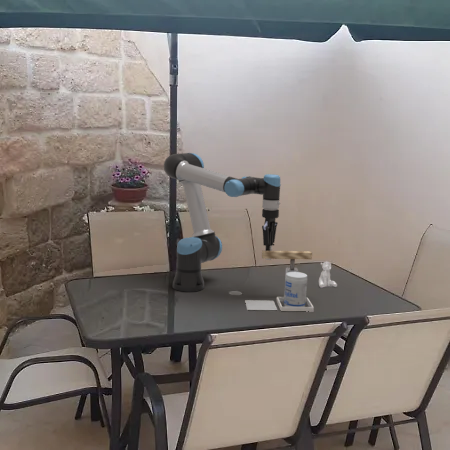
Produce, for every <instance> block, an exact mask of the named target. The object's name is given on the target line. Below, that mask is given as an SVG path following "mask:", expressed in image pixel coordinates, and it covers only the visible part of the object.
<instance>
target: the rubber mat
mask: <svg viewBox="0 0 450 450" xmlns="http://www.w3.org/2000/svg"><path fill="white" fill-rule="evenodd" d="M245 303H246V304H245ZM244 304H245V306H246V311H248V310H277V311H278V308H277V306H276V303H275V300H264V299H263V300H262V299H260V300H259V299H258V300H255V299H254V300H252V299H249V300H248V299H245V300H244Z"/></svg>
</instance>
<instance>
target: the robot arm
mask: <svg viewBox="0 0 450 450" xmlns="http://www.w3.org/2000/svg"><path fill="white" fill-rule="evenodd" d="M163 170H164V171H163V172H164V173H165V174H166V175H167V176H168V177H169V178H171V179H175V180H177V181H178V183H179V184H181V185H182V187H183V192H184V196H185V201H186V204H187V209H188V213H189V218H190V222H191V226H192V230H193V234H192V235H191V237H183V238H182V239H179V241H178V242H177V245H176V246H177V247H176V271H175V272H176V273H175V275H174V278H173V280H172V289H174V290H176V291H179V292H189V293H190V292H198V291H203V290H204V289H205V280H204V278H203V274H202V263H203V264H204V263H205V262H206V263H207V262H209V261H210V262H211V261H213V260H215V259H217V258H218V257H220V255H221V254H222V252H223V244H222V241H221V238H219V236H216V232H215V231H214V230H213V229H212V228H211V224H210V219H209V215H208V211H207V206H206V203H205V197H204V194H203V190H202V186H204V187H206V188H209V189H212V190H216V191H219V192H222V193H225V194H226V195H227V196H228V197H231V198H237V197H241V196H242V197H243V196H247V195H253V194H254V195H260V196H261V195H262V207H261V208H262V211H261V214H262V215H261V217H262V218H264V223H263V224H264V225H262V226H261V229H262V241H263V244H262V245H263V246H264V247H265V250H264V251H273V246H275V244H274V243H275V240H276V235H277V234H276V232H277V226H278V222H277V221H276V219H278V218H279V217H280V210H279V208H280V204H281V202H280V197H281V196H280V195H281V194H280V193H281V185H282V184H281V176H280V175H278V174H271V173H270V174H269V173H268V174H267V173H266V174H264V176H263V178H262V177H254V176H242V177H241V178H236V177H232V176H230V175H227V174H225V173H224V174H223V173H221V172H217V171H214V170H211V169H207V168H205V163H204V161H203V158H202V157H201V156H200V155H198V154H197V153H192V152H184V153H174V154H170V155H168V156H167V157H166V158H165V160H164V162H163ZM266 260H267V261H272V259H265V261H266Z"/></svg>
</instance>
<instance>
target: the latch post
mask: <svg viewBox="0 0 450 450" xmlns="http://www.w3.org/2000/svg"><path fill="white" fill-rule="evenodd" d="M288 272H299V269H298V267H294V269H290V266H289V267H285V276H284V278H286V273H288Z"/></svg>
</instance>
